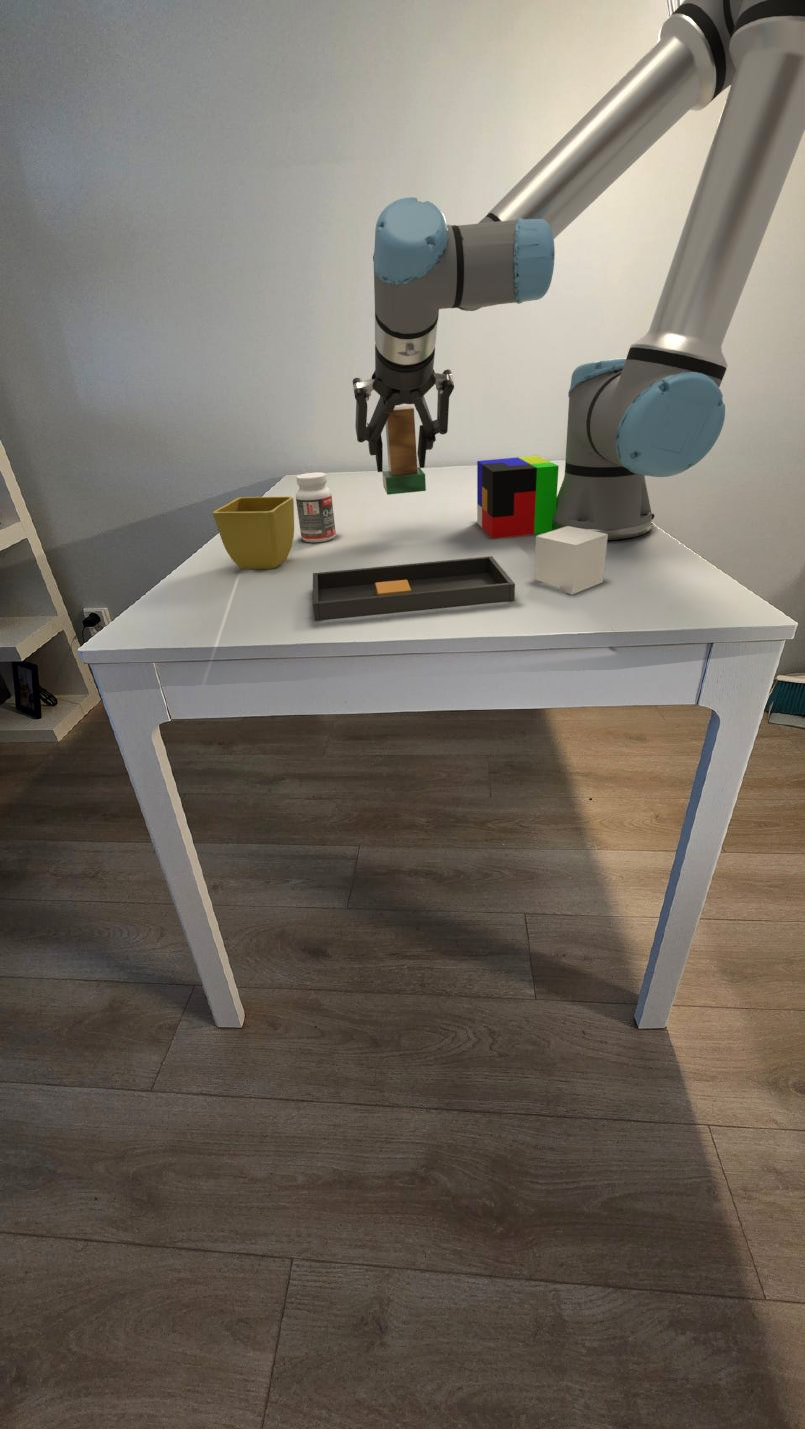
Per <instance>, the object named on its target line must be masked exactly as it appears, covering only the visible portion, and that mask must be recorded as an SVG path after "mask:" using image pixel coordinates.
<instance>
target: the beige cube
mask: <svg viewBox="0 0 805 1429" xmlns="http://www.w3.org/2000/svg"><path fill="white" fill-rule="evenodd" d="M607 538H608V534H605V533H600V532H595V531H590V530H585V529H581V528H576V527H571V526H566V527H563V528H560V529H557V530H554V531H551V532H547V533H543V534H537V535H536V536H535V550H534V551H535V552H534V569H533V570H534V571H533V572H534V573H533V580H534V581H539V582H541V583H545V584H548V585H552V586H555V587H559V589H561V590H562V591H563V592H564V593H565V594H569V595H571V596H572V595H575V594H577V593H580V592H583V591H585V590H588V589H590V588H592V587H594V586H597V585H599V584H602V583H604V578H605V568H606V567H605V566H606V557H607V556H606V555H607V548H608V547H607V546H608V540H607Z"/></svg>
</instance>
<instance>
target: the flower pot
mask: <svg viewBox="0 0 805 1429" xmlns="http://www.w3.org/2000/svg"><path fill="white" fill-rule="evenodd" d="M294 503H295V502H294V497H293V496H243V497H242V496H241V497H237V498H235V499H233V500H231V501H230V502H228V503H226V504H225V505H223V506H221V507H219V508H217V509H215V510H214V511H213V512H212V515H213V519H214V522H215V524H216V527H217V530H218V534H219V537H220V539H221V541H222V545H223V546H224V547H223V548H224V549H225V551H226V552H227V554H228V556H229V557H230V559H231V560H232V561H233V562H234V564H236V565H237V567H239V569H240V570H274V569H277V568H278V567H279V566H280V565H281V564H282V563H283V562H285V561H286V560H287V559H288V557H289V555H290V552H291V549H292V546H293V542H294V535H295V506H294V505H295V504H294Z"/></svg>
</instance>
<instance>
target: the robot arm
mask: <svg viewBox="0 0 805 1429" xmlns="http://www.w3.org/2000/svg"><path fill="white" fill-rule="evenodd" d="M727 88H729V89H728V93H727V97H726V100H725V102H724V104H723V108H722V111H721V113H720V117H719V120H718V123H717V126H716V129H715V132H714V135H713V138H712V141H711V144H710V147H709V149H708V153H707V156H706V159H705V162H704V165H703V168H702V170H701V173H700V177H699V180H698V182H697V186H696V189H695V191H694V193H693V194H694V195H693V198H692V200H691V204H690V206H689V209H688V213H687V216H686V219H685V222H684V225H683V228H682V231H681V233H680V236H679V238H678V242H677V246H676V249H675V250H674V254H673V257H672V260H671V263H670V267H669V269H668V272H667V275H666V278H665V281H664V284H663V287H662V290H661V292H660V293H661V294H660V296H659V299H658V302H657V305H656V308H655V312H654V314H653V317H652V320H651V323H650V326H649V329H648V331H647V332H646V334H645V335H643V336H641V337H640V338H639V339H637V340H636V341H634V342H633V343H631V344H630V347H629V349H628V351H627V355H626V357H619V358H610V359H605V360H598V361H592V362H586V363H583V364H580V365H579V366H576V368H575V369H574V370H573V371H572V374H571V377H570V378H571V379H570V385H569V386H570V387H569V389H568V393H567V394H568V395H567V396H568V411H567V426H566V427H567V429H566V442H565V444H566V445H565V446H566V447H565V461H564V462H565V463H564V464H565V465H564V475H563V479H562V483H561V485H560V487H559V491H558V492H557V502H556V511H555V514H554V517H553V521H552V531H554V530H557V529H560V528H563V527H566V526H571V527H576V528H581V529H585V530H590V531H595V532H600V533H605V534H608V538H607V541H613V540H624V539H632V538H635V537H639V536H642V535H644V534H647V533H648V532H650V530H651V528H652V520H654V518H655V514H654V513H653V512H652V507H651V502H650V497H649V493H648V492H649V491H648V488H647V481H646V477H653V478H667V477H674V476H676V475H679V474H681V473H684V472H685V471H687V470H689V469H690V468H692V467H694V466H695V465H697V464H698V463H699V462H700V461H702V460H703V459H704V458H705V457H706V456H707V454H708V453H709V452H710V451H711V450H712V449H713V447H714V446H715V444H716V442H717V441H718V439H719V437H720V436H721V432H722V430H723V426H724V422H725V418H726V404H725V403H724V401H723V399H724V398H723V396H724V395H723V393H722V391H721V388H720V387H721V384H722V382H723V379H724V377H725V374H726V373H727V372H726V371H727V370H728V369H727V368H728V363H727V360H726V358H725V355H724V353H723V351H722V350H723V349H722V346H723V343H724V339H725V338H726V335H727V332H728V330H729V327H730V325H731V322H732V319H733V317H734V314H735V311H736V309H737V306H738V304H739V301H740V299H741V296H742V294H743V290H744V288H745V285H746V283H747V281H748V278H749V275H750V273H751V270H752V268H753V265H754V262H755V259H756V257H757V254H758V252H759V249H760V248H761V244H762V242H763V239H764V236H765V234H766V231H767V229H768V226H769V224H770V222H771V218H772V216H773V213H774V211H775V208H776V205H777V203H778V201H779V198H780V195H781V192H782V190H783V187H784V185H785V182H786V180H787V177H788V175H789V172H790V169H791V167H792V164H793V161H794V159H795V156H796V154H797V151H798V148H799V147H800V143H801V140H802V138H803V136H804V133H805V0H683V1H682V3H680V5H679V6H678V7H677V8H676V9H675V10H674V11H673V12H672V13H671V14H670V15H669V16H668V17H667V18H666V19H665V20H664V21H663V23H662V25H661V27H660V29H659V33H658V38H657V42H656V43H655V44H654V45H653V46H652V48H651V49H649V50H648V52H646V53H645V54H644V56H642V57H641V58H640V59H639V61H637V62H636V63H635V64H634V65H633V67H631V68H630V69H629V70H628V71H627V73H625V74H624V75H623V76H622V77H621V79H619V81H618V82H616V84H614V86H612V88H610V90H608V91H607V93H605V95H604V96H602V98H601V99H599V100H598V102H597V103H596V104H594V105H593V107H592V108H591V109H590V110H589V111H587V113H586V114H585V115H584V116H582V118H581V119H580V120H579V121H577V123H576V124H575V125H574V126H573V127H572V128H571V129H570V130H569V131H568V132H567V133H566V134H565V135H564V136H563V137H562V138H560V140H559V141H558V142H557V143H556V144H555V145H554V146H553V147H552V148H551V149H550V150H549V151H548V152H547V153H546V154H545V155H543V157H542V158H541V159H540V160H539V161H538V162H537V163H536V164H535V165H534V166H533V167H532V168H531V169H530V170H529V171H528V172H527V173H526V174H525V175H524V176H523V177H522V178H521V179H520V180H519V181H518V182H517V183H516V184H515V185H514V186H513V187H512V188H511V189H510V190H509V191H508V192H507V193H506V194H505V195H504V196H503V197H502V198H501V199H500V201H498V203H496V204H495V205H494V206H493V208H491V210H489V211H488V213H487V214H486V215H485V216H484V217H483V218H482V219H481V220H480V221H479V222H477V223H470V224H459V225H456V224H453V225H451V224H447V220H446V219H447V218H446V217H445V215H444V213H443V211H442V210H441V209H440V208H439V207H438V206H437V205H436V204H434V203H433V202H431V201H429V200H425V201H420V200H419V198H418V197H412V196H411V197H403V198H399V199H396V200H394V201H393V202H391V203H389V204H388V205H387V206H386V207H384V209H383V210H382V211H381V212H380V214H379V215H378V217H377V220H376V224H375V231H374V248H373V249H374V250H373V251H374V252H373V254H372V261H373V286H374V287H373V293H374V295H373V296H374V342H375V344H374V372H373V373H372V374H371V378H369V379H366V380H362V379H361V377H354V378H353V379H352V387H353V388H352V389H353V395H354V399H355V401H356V402H355V422H354V423H355V433H356V440H357V442H358V443H364V442H365V441H366V442H368V444H367V446H368V452H369V455H370V456H375V463H376V469H377V473H382V471H383V467H384V466H383V464H384V463H383V462H384V460H383V447H384V446H383V445H384V444H383V438H382V433H383V431H384V428H385V427H386V426H385V424H386V422H387V419H388V417H389V415H390V413H392V412H393V410H394V408H395V407H397V406H402V405H413V406H414V409H415V410H416V412H417V414H418V416H419V419H420V422H421V424H420V425H419V430H418V442H417V452H416V453H417V461H418V466H419V468H420V469H424V468H425V467H426V458H427V456H426V455H427V451H430V450H433V448H434V443H435V442H436V441H437V439H436V438H437V437H436V436H437V435H438V434H440V435H446V434H447V433H448V432H449V431H448V429H449V413H450V412H449V410H450V397H451V395H452V393H453V391H454V389H455V384H454V378H453V372H452V370H451V369H449V368H448V369H445V370H444V371H442V373H439V372H435V369H434V367H435V366H434V365H435V356H436V355H435V354H436V343H437V334H438V333H437V332H438V322H439V315H440V310H443V309H458V310H461V311H465V312H474V311H475V312H476V311H478V310H480V309H481V308H486V307H493V306H497V305H498V306H499V305H507V304H518V305H520V304H522V303H526V302H532V301H538V300H541V299H542V298H544V297H545V296H546V294H547V293H548V291H549V289H550V287H551V284H552V281H553V275H554V270H555V256H556V255H555V254H556V253H555V252H556V251H555V249H556V248H555V239H556V238H557V237H558V236H559V235H561V233H563V231H565V230H566V228H568V227H569V226H570V224H572V223H573V222H574V221H575V220H576V219H577V218H578V217H579V216H580V215H582V213H583V212H584V211H585V210H587V208H588V207H589V206H590V205H591V204H593V203H594V202H595V201H596V200H597V199H598V198H599V197H601V195H602V194H603V193H604V192H605V191H606V190H608V188H610V187H611V185H613V184H614V183H615V182H616V181H617V180H618V179H619V178H620V177H621V176H622V175H623V174H624V173H625V172H626V171H627V170H629V168H630V167H631V166H633V164H635V162H637V161H638V160H639V159H640V158H641V157H642V156H643V155H644V154H645V153H646V152H647V151H648V150H649V149H650V148H652V146H653V145H654V144H655V143H656V142H658V141H659V140H660V139H661V138H662V137H663V136H664V135H665V134H666V133H667V132H668V131H669V130H671V128H673V126H674V125H676V124H677V123H678V122H679V121H680V120H681V119H682V118H683V117H684V116H685V115H686V114H687V113H688V112H689V111H695V112H696V111H697V112H698V111H703V109H705V108H707V106H708V105H710V103H712V101H714V99H716V97H718V96H719V95H720V94H722V93H723V92H724V91H725V90H726V89H727ZM434 386H435V389H436V391H437V407H436V408H437V409H436V419H434V420H433V418H432V415H431V412H430V410H429V406H428V403H427V401H426V398H425V395H426V394H427V393H428V392H429V391H430V390H431V389H432V388H433V387H434ZM373 391H374V392H376V393H377V394H378V395H379V397H378V398H379V399H378V401H377V403H376V406H375V408H374V411H373V414H372V415H371V418H370V421H369V422H368V401H370V397H371V395H372V392H373Z"/></svg>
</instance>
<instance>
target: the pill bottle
mask: <svg viewBox="0 0 805 1429" xmlns="http://www.w3.org/2000/svg"><path fill="white" fill-rule="evenodd" d="M295 479H296V484H297V485H298V490H297V491H296V493H295V503H296V508H297V509H296V510H297V518H298V525H299V531H300V538H301V540H302V541H303V542H307V543H322V542H323V543H324V542H329V541H331V540H334V538H336V536H337V532H336V523H335V515H334V507H333V506H334V504H333V496H332V492H331V490H330V488H328V487H327V485H326V484H327V482H328V478H327V474H326V472H320V471H319V472H317V471H315V472H305V473H302V474H301V473H300V474H299V475H296V478H295Z"/></svg>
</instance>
